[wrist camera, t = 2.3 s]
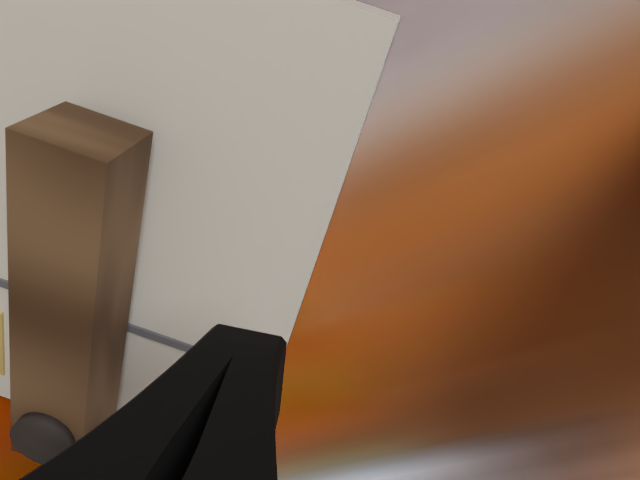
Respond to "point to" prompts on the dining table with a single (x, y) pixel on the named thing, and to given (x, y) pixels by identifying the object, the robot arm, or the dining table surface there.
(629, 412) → the dining table surface
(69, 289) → the bar
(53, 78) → the latch board
